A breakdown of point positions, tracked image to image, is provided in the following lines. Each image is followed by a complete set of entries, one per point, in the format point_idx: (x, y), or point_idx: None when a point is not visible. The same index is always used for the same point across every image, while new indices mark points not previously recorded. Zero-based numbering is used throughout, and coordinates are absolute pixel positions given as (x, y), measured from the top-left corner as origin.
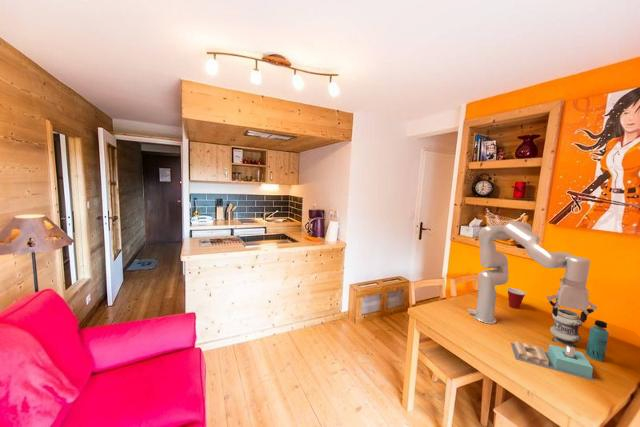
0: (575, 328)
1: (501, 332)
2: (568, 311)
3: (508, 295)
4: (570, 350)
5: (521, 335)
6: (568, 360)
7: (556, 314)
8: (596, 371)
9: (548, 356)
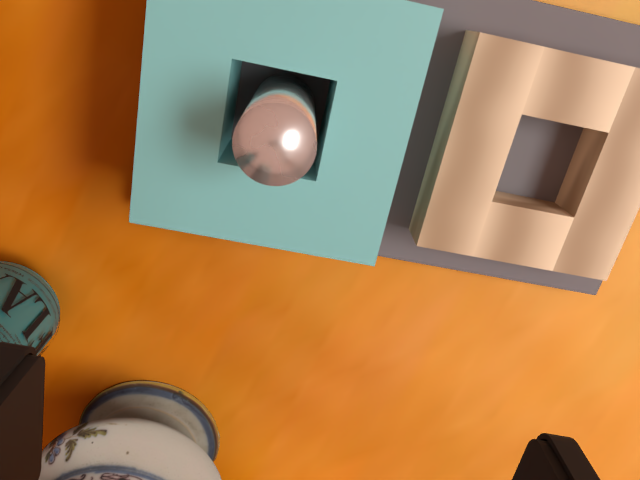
0: None
1: None
2: None
3: None
4: (291, 100)
5: (414, 445)
6: (340, 9)
7: (580, 472)
8: (72, 134)
9: None
